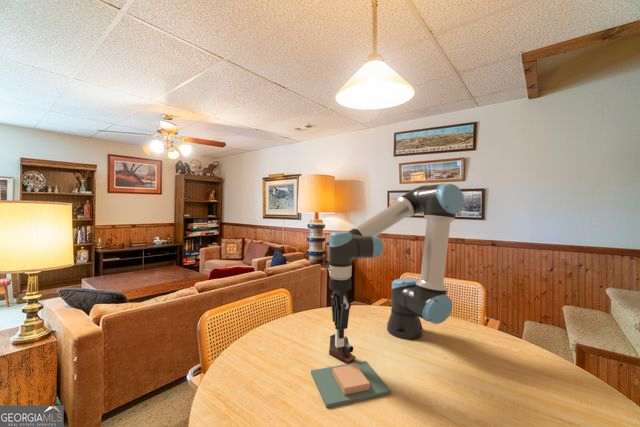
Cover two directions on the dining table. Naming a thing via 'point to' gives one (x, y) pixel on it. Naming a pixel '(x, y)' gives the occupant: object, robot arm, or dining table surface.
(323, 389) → the mat
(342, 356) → the electronic device
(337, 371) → the tile
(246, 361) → the dining table surface
